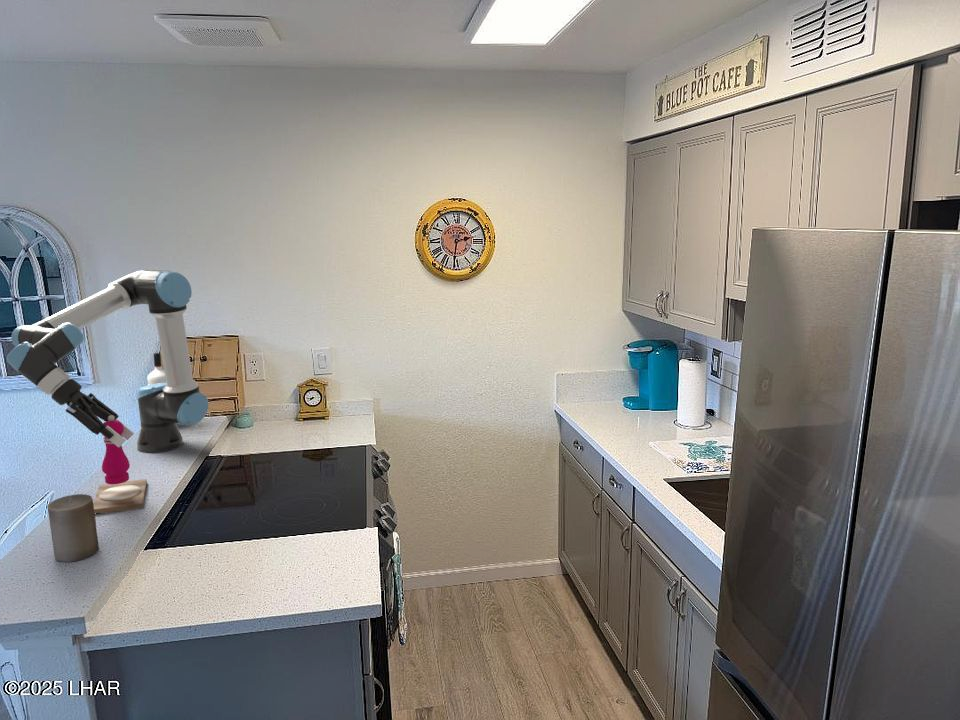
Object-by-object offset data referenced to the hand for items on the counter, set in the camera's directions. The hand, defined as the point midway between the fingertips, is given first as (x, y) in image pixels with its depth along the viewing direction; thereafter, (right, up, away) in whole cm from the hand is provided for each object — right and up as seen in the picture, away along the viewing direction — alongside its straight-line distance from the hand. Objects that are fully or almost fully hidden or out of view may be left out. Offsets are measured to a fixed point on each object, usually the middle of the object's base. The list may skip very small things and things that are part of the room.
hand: (126, 440), depth 200 cm
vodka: (-24, -3, +74) cm, 78 cm away
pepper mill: (-4, -12, +2) cm, 13 cm away
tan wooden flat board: (-4, -18, +3) cm, 18 cm away
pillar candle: (+3, -25, -30) cm, 39 cm away
